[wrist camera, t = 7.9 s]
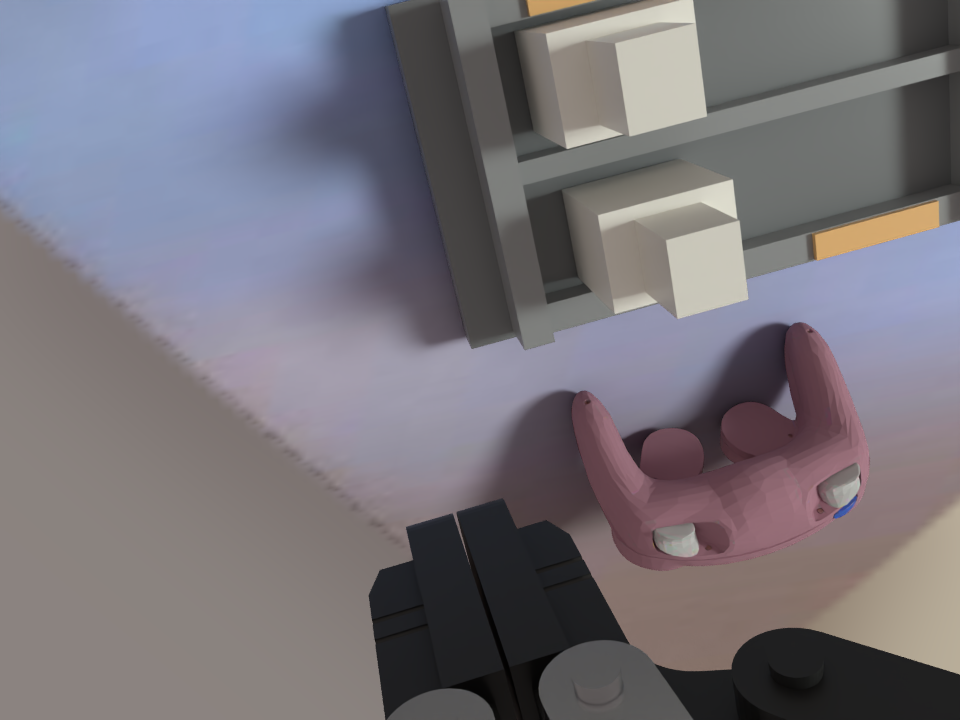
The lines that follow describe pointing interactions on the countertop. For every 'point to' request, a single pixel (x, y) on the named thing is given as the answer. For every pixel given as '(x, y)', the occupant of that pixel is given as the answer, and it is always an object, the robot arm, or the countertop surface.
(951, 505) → the countertop surface
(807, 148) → the switch bank
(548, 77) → the tab
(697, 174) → the tab
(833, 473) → the video game controller
